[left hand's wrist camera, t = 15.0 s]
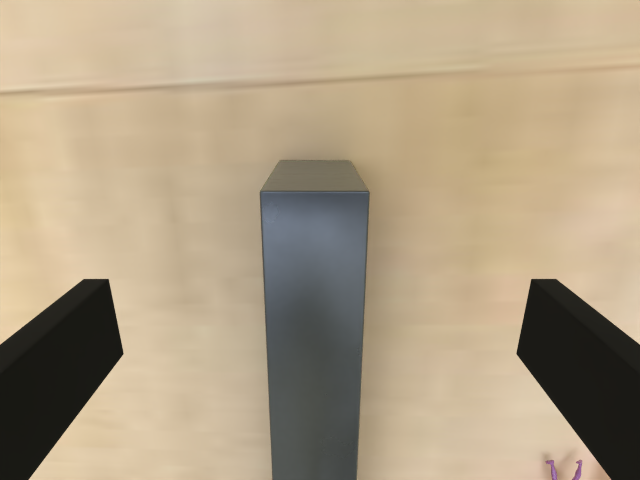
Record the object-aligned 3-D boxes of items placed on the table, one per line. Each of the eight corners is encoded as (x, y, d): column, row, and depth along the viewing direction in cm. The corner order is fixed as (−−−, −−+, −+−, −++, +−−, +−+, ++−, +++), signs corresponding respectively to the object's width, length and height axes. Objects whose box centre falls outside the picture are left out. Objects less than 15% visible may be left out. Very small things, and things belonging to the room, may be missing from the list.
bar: (279, 160, 25) (259, 191, 16) (350, 160, 25) (370, 191, 16) (289, 538, 36) (281, 681, 27) (339, 537, 36) (347, 680, 27)
